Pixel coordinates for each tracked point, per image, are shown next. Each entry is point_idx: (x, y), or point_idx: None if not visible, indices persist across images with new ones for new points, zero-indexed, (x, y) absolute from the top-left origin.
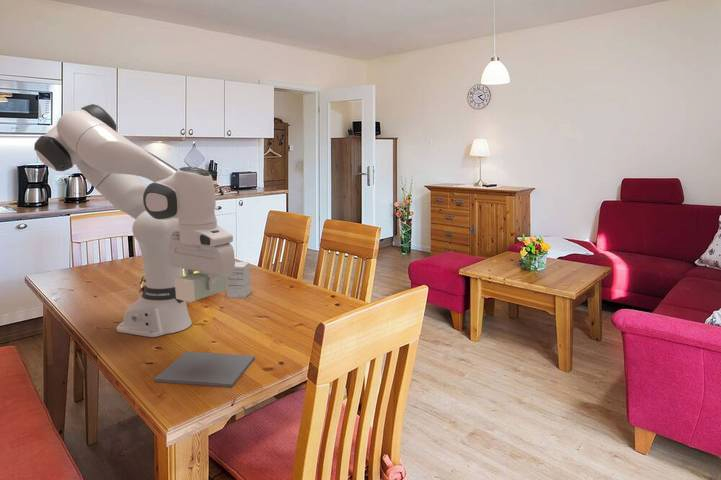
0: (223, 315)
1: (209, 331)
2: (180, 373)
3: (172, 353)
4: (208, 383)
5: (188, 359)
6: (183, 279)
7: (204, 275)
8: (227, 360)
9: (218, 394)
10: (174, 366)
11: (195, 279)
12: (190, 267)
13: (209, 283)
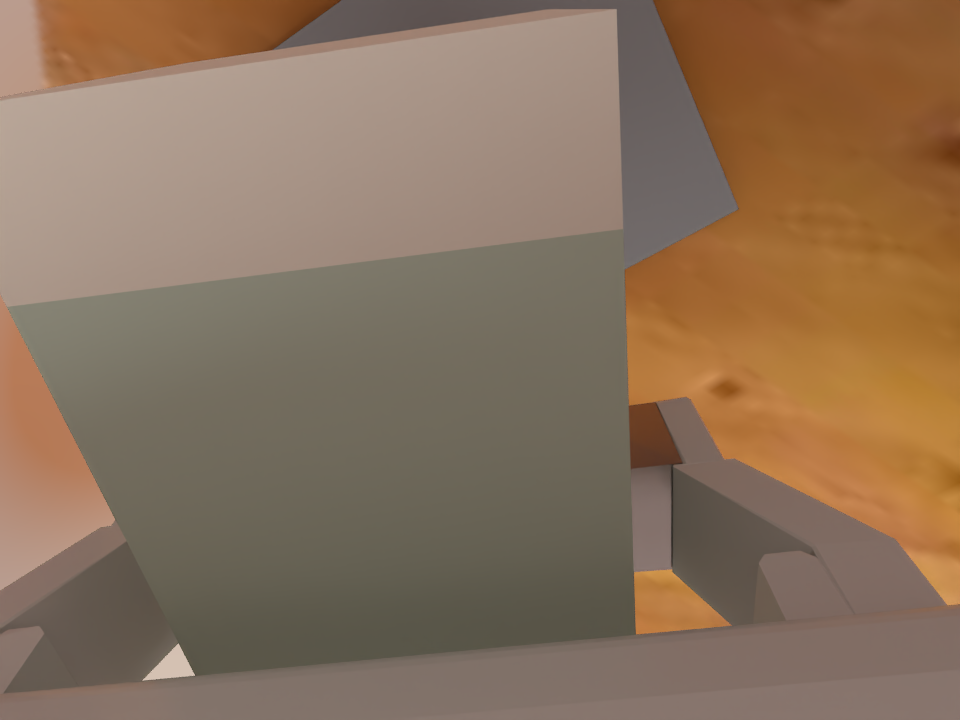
0: (941, 593)
1: (854, 448)
2: (507, 4)
3: (819, 157)
4: (274, 49)
5: (634, 154)
6: (331, 181)
7: (310, 659)
8: None
9: (143, 21)
10: (624, 37)
11: (103, 394)
12: (564, 712)
13: (115, 532)
